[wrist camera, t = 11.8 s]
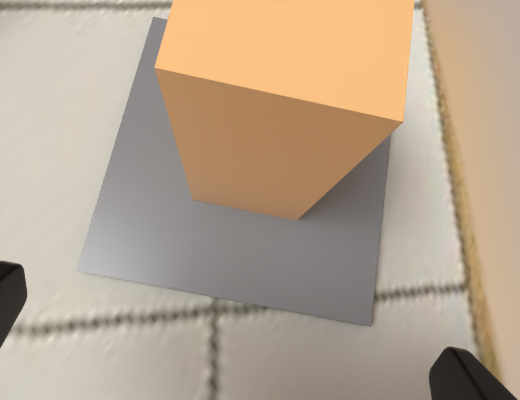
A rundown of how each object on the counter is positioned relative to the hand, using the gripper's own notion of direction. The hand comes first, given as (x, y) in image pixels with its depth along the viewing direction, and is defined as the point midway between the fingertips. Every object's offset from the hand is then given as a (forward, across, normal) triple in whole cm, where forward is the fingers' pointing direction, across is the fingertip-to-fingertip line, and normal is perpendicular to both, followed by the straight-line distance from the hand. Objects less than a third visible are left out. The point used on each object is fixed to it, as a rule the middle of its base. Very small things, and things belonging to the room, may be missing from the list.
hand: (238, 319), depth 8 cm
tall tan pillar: (+15, 0, +3) cm, 15 cm away
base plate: (+15, 0, +4) cm, 16 cm away
